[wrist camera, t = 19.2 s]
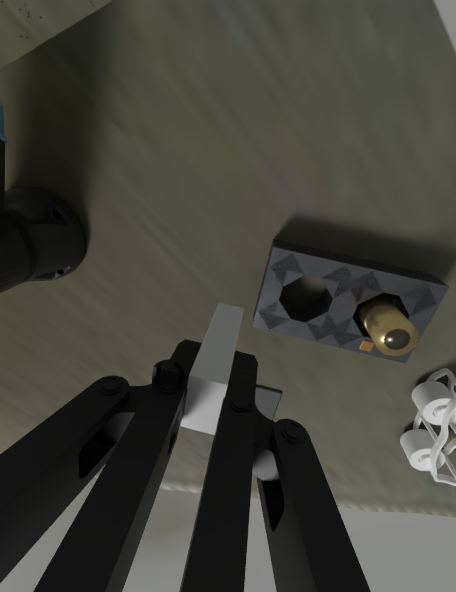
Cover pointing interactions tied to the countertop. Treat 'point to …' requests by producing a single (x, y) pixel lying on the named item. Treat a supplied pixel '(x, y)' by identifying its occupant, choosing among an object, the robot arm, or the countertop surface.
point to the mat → (267, 401)
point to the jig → (340, 297)
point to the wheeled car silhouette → (436, 410)
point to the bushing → (387, 326)
